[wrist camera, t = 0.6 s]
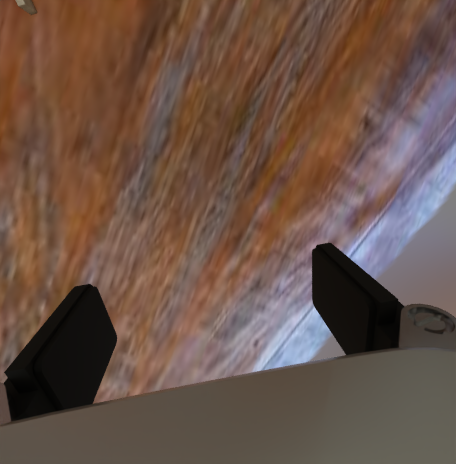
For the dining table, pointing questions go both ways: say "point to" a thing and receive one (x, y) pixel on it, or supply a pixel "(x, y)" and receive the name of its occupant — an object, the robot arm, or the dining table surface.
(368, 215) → the dining table surface
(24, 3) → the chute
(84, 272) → the dining table surface
